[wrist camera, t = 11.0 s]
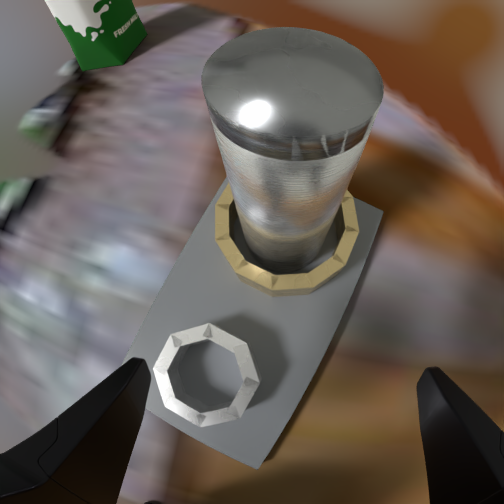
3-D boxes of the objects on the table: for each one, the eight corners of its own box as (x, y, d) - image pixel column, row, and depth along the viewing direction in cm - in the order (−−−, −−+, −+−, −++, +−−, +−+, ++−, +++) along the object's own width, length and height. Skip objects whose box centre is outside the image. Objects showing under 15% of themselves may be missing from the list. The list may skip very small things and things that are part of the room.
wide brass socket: (316, 318, 18) (323, 314, 15) (199, 260, 19) (189, 248, 17) (364, 207, 20) (374, 190, 17) (257, 161, 21) (255, 140, 19)
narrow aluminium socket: (231, 431, 16) (226, 441, 14) (154, 386, 17) (141, 391, 15) (274, 354, 17) (274, 356, 15) (193, 312, 18) (184, 308, 16)
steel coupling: (303, 285, 18) (355, 169, 6) (231, 250, 19) (165, 103, 7) (334, 218, 19) (396, 58, 7) (266, 188, 20) (253, 17, 8)
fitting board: (258, 464, 16) (257, 469, 15) (119, 382, 18) (112, 384, 17) (379, 217, 20) (383, 211, 19) (244, 158, 22) (243, 151, 21)
